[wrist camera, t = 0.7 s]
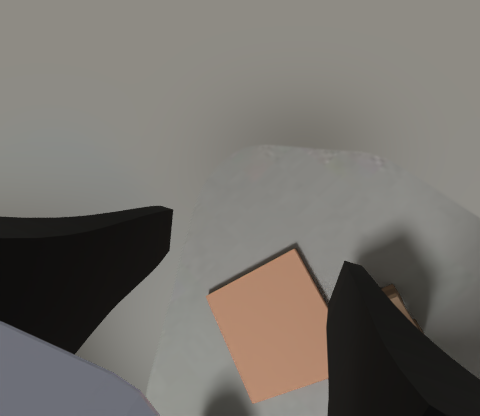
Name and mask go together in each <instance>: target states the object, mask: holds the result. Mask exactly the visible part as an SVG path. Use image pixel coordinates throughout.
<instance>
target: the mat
mask: <svg viewBox="0 0 480 416" xmlns="http://www.w3.org/2000/svg"><path fill="white" fill-rule="evenodd" d="M206 298H207V300H208V303H209V305H210V307H211V310H212V312H213V314H214V316H215V319H216V321H217V323H218V326H219V328H220V330H221V333H222V335H223V337H224V339H225V342H226V344H227V346H228V349H229V351H230V353H231V356H232V358H233V360H234V362H235V365H236V367H237V369H238V372H239V374H240V376H241V378H242V381H243V383H244V385H245V388H246V390H247V392H248V395H249V397H250V399H251V401H252V404H254V403H257V402H260V401H263V400H266V399H269V398H271V397H274V396H277V395H280V394H283V393H286V392H289V391H292V390H295V389H298V388H301V387H304V386H307V385H310V384H313V383H316V382H319V381H322V380H325V379H328V358H327V334H326V324H327V313H328V306H327V304H326V302H325V301H324V299H323V297H322V295H321V293H320V291H319V290H318V288H317V286H316V284H315V282H314V281H313V279H312V277H311V275H310V273H309V272H308V270H307V268H306V266H305V264H304V262H303V261H302V259H301V257H300V255H299V253H298V252H297V250H296V248H295V249H293V250H291V251H289V252H287V253H285V254H283V255H282V256H280V257H278V258H276V259H274V260H272V261H270V262H269V263H267V264H265V265H263V266H261V267H259V268H257V269H256V270H254V271H252V272H250V273H248V274H246V275H244V276H242V277H241V278H239V279H237V280H235V281H233V282H231V283H229V284H228V285H226V286H224V287H222V288H220V289H218V290H216V291H215V292H213V293H211V294H209V295H207V296H206Z"/></svg>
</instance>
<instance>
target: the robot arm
mask: <svg viewBox="0 0 480 416" xmlns="http://www.w3.org/2000/svg"><path fill="white" fill-rule="evenodd" d="M172 215H173V209H169V208H166V207H163V206H150V207H143V208H136V209H130V210H123V211H118V212H110V213H103V214H96V215H87V216H77V217H61V218H17V217H0V416H160V415H159V413H158V412H157V411H156V410H155V408H154V407H153V406H152V404H151V403H150V402H149V401H148V399H147V398H146V397H145V395H144V394H143V393H142V392H141V391H140V390H139V389H138V388H136V387H135V386H133V385H132V384H130V383H129V382H127V381H126V380H124V379H123V378H121V377H120V376H118V375H117V374H115V373H114V372H112V371H109V370H107V369H105V368H103V367H100V366H98V365H96V364H94V363H92V362H90V361H87V360H85V359H83V358H81V357H79V356H76V355H75V353H76V352H77V351H78V350H79V348H80V347H81V346H82V345H83V343H84V342H85V341H86V340H87V338H88V337H89V336H90V335H91V334H92V332H93V331H94V330H95V329H96V328H97V326H98V325H99V324H100V323H101V322H102V321H103V319H104V318H105V317H106V316H107V315H108V314H109V312H110V311H111V310H112V309H113V308H114V307H115V306H116V305H117V304H118V303H119V302H120V301H121V300H122V299H123V298H124V297H125V296H127V295H128V294H129V293H130V292H131V291H132V290H133V289H134V288H135V287H136V286H137V285H138V284H139V283H140V282H142V281H143V280H144V279H145V278H146V277H147V276H148V275H149V274H150V273H151V272H152V271H153V270H154V269H155V268H156V267H157V266H158V265H159V263H160V262H161V261H162V260H163V258H164V257H165V256H166V254H167V253H168V252H169V249H170V237H171V226H172ZM326 334H327V358H328V380H329V401H328V416H480V380H479V379H478V378H477V377H475V376H474V375H473V374H471V373H470V372H469V371H467V370H466V369H465V368H464V367H462V366H461V365H460V364H458V363H457V362H456V361H455V360H453V359H452V358H451V357H450V356H448V355H447V354H446V353H445V352H444V351H442V350H441V349H440V348H439V347H438V346H436V345H435V344H434V343H433V342H432V341H431V340H430V339H429V338H428V337H427V336H425V335H424V334H423V333H422V332H421V331H420V330H419V329H418V328H417V327H416V326H415V325H414V324H413V323H412V322H411V321H410V320H409V319H408V318H407V317H406V316H405V315H404V314H403V313H402V312H401V311H400V310H399V309H398V308H397V307H396V305H395V304H394V303H393V302H392V301H391V300H390V299H389V298H388V296H387V295H386V294H385V293H384V292H383V291H382V289H381V288H380V287H379V286H378V285H377V283H376V282H375V281H374V280H373V278H372V277H371V276H370V275H369V274H368V272H367V271H366V270H365V269H364V268H363V267H362V266H360V265H357V264H354V263H350V262H347V261H344V264H343V266H342V269H341V272H340V274H339V277H338V280H337V282H336V285H335V288H334V290H333V293H332V296H331V298H330V301H329V304H328V313H327V324H326Z"/></svg>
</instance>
